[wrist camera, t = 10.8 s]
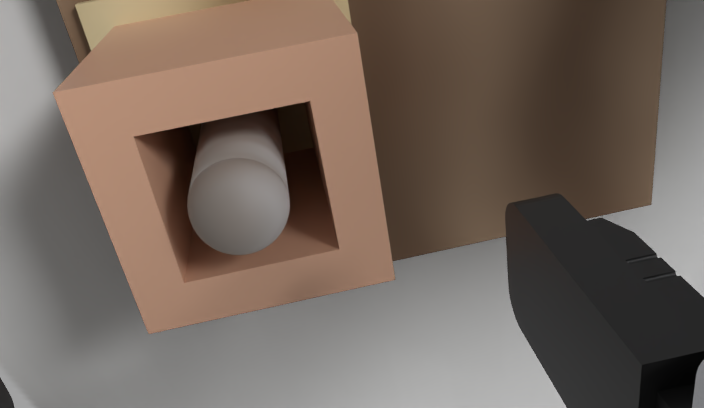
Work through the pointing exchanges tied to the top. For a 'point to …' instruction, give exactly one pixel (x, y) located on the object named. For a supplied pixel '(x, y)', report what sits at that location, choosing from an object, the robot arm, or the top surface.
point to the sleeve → (179, 154)
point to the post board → (444, 116)
